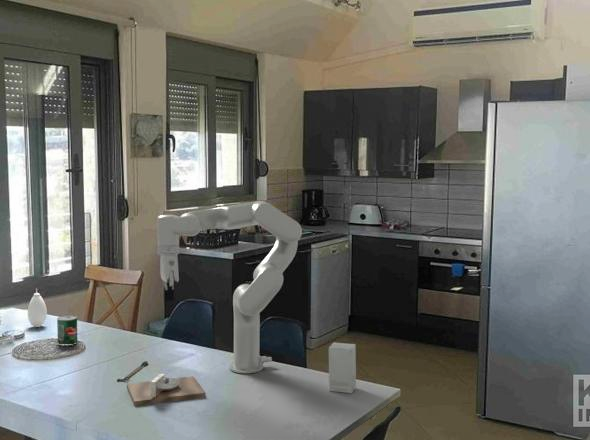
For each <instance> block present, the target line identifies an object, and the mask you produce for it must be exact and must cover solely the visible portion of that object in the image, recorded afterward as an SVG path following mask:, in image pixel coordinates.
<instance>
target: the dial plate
mask: <svg viewBox="0 0 590 440" xmlns="http://www.w3.org/2000/svg"><path fill="white" fill-rule="evenodd" d="M175 379H177V380H178V381H179V387H178V388H176V389H174V390H170V391H162V392H161V393H160V394H159V395H157V396H156V397H151V381H152V380H148V381H141V382H140V381H139V382H131V383H126V388H127V389H126V390H127V392H128V394H129V396H130V399H131V401H132V404H133V405H134V407H137V406H145V405H152V404H159V403H161V404H162V403H169V402H177V401H184V400H185V401H186V400H193V399H200V398H206V391H205V390H204V388H203V387H202V386H201V385H200V383H199V382H198V380H197V379H196V377H194V375H191V376H184V377H176V378H175Z"/></svg>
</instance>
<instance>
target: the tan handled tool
mask: <svg viewBox="0 0 590 440" xmlns="http://www.w3.org/2000/svg"><path fill="white" fill-rule="evenodd" d="M148 364H149V363H148V361H146V360H145V361H143V362H141V364H140V366H138V367H136V368H135V369H133V371H131V372H130V373H128V374H127V375H126V376H125V377H123V378H121V379H120V378H117V379H116V381H117V382H120V383H126V384H129V382H131V381H132V380H131V379H130V378H131V377H132V376H134V375H135V374H137V373H138V372H140V371H141V370H142V369H143V368H145V367H146V366H147V365H148Z"/></svg>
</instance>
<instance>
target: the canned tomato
mask: <svg viewBox="0 0 590 440" xmlns="http://www.w3.org/2000/svg"><path fill="white" fill-rule="evenodd" d="M56 320H57V323H56V324H57V326H56V327H57V344H58V343H59V344H74V343H77V342H78V316H76V315H73V314H72V315H69V314H68V315H67V314H66V315H61V316H58V317H57V318H56ZM78 343H79V342H78ZM78 343H77V344H78Z"/></svg>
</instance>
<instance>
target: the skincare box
mask: <svg viewBox="0 0 590 440" xmlns="http://www.w3.org/2000/svg"><path fill="white" fill-rule="evenodd" d="M356 345H357V344H356V343H344V342H343V343H342V342H333V343H331V344H330V345H329V346H328V391H329V392H336V393H346V394H352V393H353V392H354V390H355V389H356V388H357V368H356V367H357V366H356V365H357V363H356V362H357V359H356V358H357V357H356V349H357V347H356Z"/></svg>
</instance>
